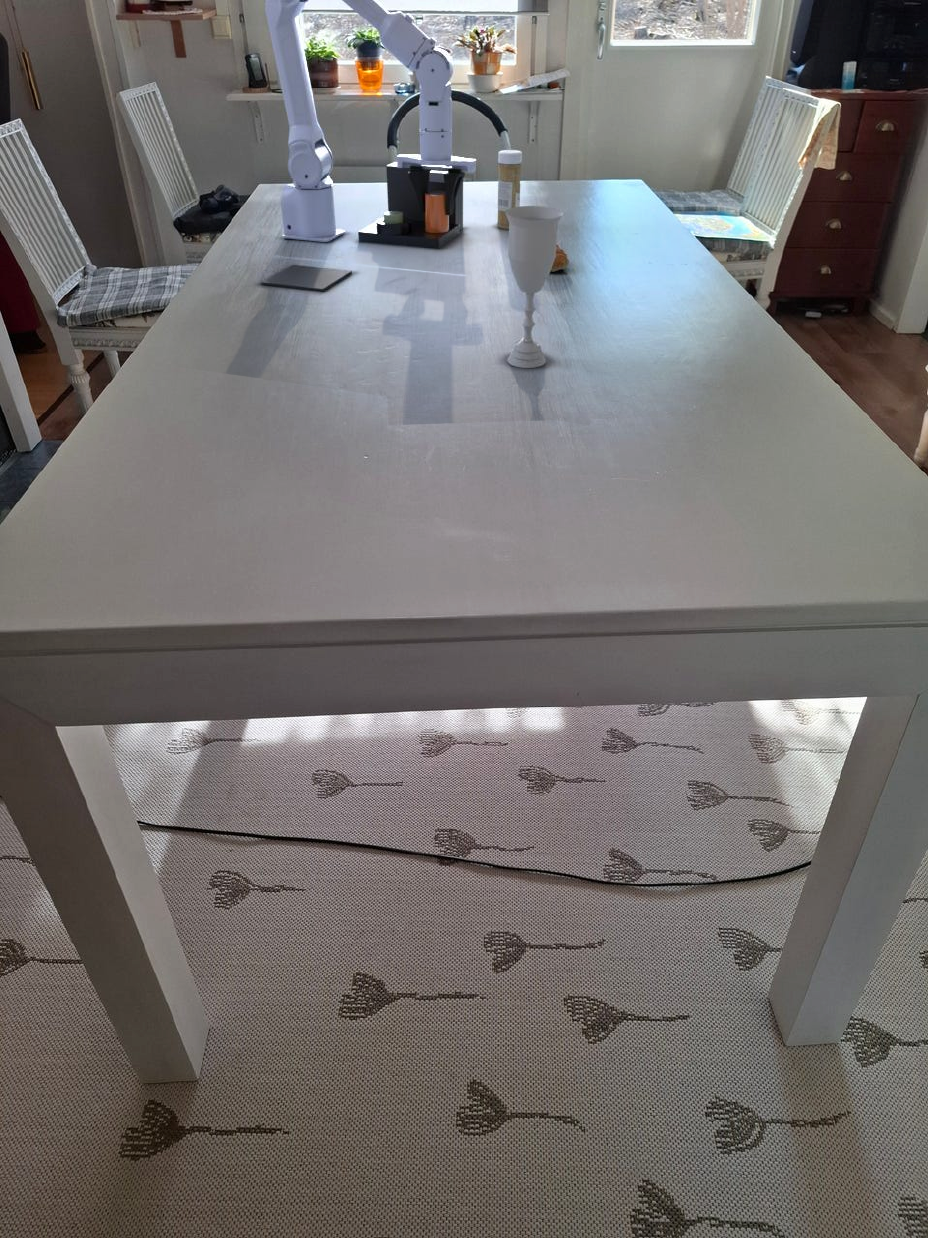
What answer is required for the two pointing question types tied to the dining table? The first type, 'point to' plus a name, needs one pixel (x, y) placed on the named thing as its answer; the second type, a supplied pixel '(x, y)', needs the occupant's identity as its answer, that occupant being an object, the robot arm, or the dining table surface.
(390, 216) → the button
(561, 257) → the pastry
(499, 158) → the sprinkles bottle
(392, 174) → the coffee maker column
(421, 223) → the coffee maker base
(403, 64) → the robot arm
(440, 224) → the espresso cup
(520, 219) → the chalice
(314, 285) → the mat
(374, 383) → the dining table surface
